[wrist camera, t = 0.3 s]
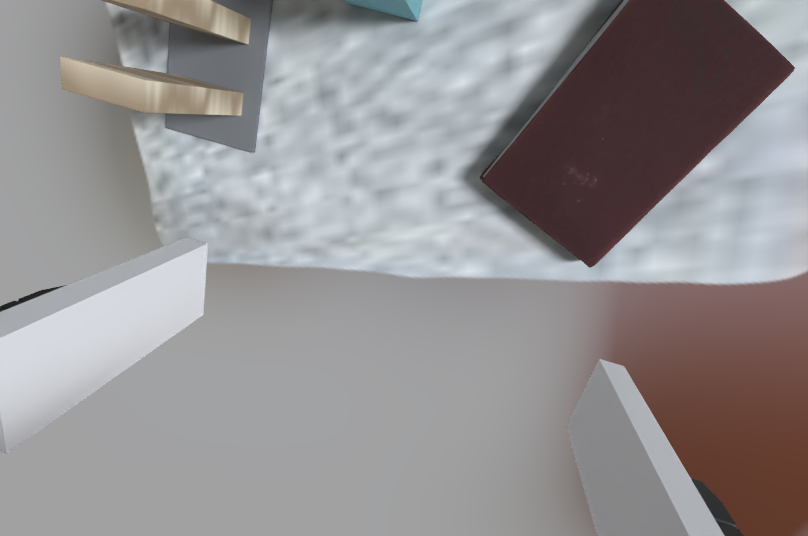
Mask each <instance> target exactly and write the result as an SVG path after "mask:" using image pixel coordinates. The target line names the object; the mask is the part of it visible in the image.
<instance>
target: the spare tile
mask: <svg viewBox="0 0 808 536" xmlns="http://www.w3.org/2000/svg"><path fill="white" fill-rule="evenodd" d="M345 1H346V2H347V3H348V4H352V5H356V6H360V7H364V8H368V9H371V10H375V11H379V12H383V13H387V14H391V15H395V16H399V17H403V18H407V19H410V20H414V21H418V18H419V14H420V9H421V5H422V1H423V0H345Z"/></svg>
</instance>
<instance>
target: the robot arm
mask: <svg viewBox="0 0 808 536" xmlns="http://www.w3.org/2000/svg"><path fill="white" fill-rule="evenodd" d="M207 251H208V243H205V242H201V241H198V240H195V239H191V238H188V237H186V238H184V239H181V240H179V241H176V242H174V243H171V244H169V245H166V246H164V247H161V248H159V249H156V250H154V251H151V252H149V253H146V254H144V255H142V256H139V257H136V258H134V259H131V260H129V261H126V262H124V263H121V264H119V265H117V266H114V267H111V268H109V269H106V270H104V271H101V272H99V273H96V274H94V275H91V276H89V277H86V278H84V279H81V280H79V281H76V282H74V283H71V284H69V285H65V286H60V287H56V288H51V289H46V290H41V291H38V292H36V293H33V294H30V295H28V296H25V297H23V298H20V299H19V301H13V302H10V303H7V304H5V305H2V306H0V451H1V452H4V453H8V452H10V451H11V450H13V449H14V448H15V447H17V446H18V445H20V444H21V443H22V442H24V441H25V440H27V439H28V438H30V437H31V436H32V435H34V434H35V433H36V432H38V431H39V430H41V429H42V428H44V427H45V426H46V425H48V424H49V423H51V422H52V421H54V420H55V419H56V418H58V417H59V416H61V415H62V414H64V413H65V412H66V411H68V410H69V409H70V408H72V407H73V406H75V405H76V404H77V403H79V402H81V401H82V400H83V399H85V398H86V397H88V396H89V395H90V394H92V393H93V392H95V391H96V390H97V389H99V388H100V387H102V386H103V385H105V384H106V383H107V382H109V381H110V380H112V379H113V378H114V377H116V376H117V375H119V374H120V373H121V372H123V371H124V370H126V369H127V368H129V367H130V366H131V365H133V364H134V363H136V362H137V361H139V360H140V359H141V358H143V357H144V356H146V355H147V354H148V353H150V352H151V351H153V350H154V349H155V348H157V347H158V346H160V345H161V344H163V343H164V342H165V341H167V340H168V339H170V338H171V337H173V336H174V335H175V334H177V333H178V332H180V331H181V330H182V329H184V328H185V327H187V326H188V325H189V324H191V323H192V322H194V321H195V320H196V319H198V318H199V317H201V316H202V315H203V311H204V310H203V309H204V296H205V280H206V265H207ZM566 429H567V432H568V436H569V439H570V443H571V446H572V449H573V453H574V456H575V460H576V463H577V467H578V470H579V474H580V478H581V481H582V484H583V488H584V492H585V495H586V499H587V502H588V505H589V509H590V512H591V516H592V519H593V523H594V526H595V530H596V533H597V536H743V535H742V533H741V532H740V530H739V529H736V524H735V522H734V521H733V519H732V517H731V516H730V514H729V513H728V511H727V509H726V508H725V506H724V505H723V503H722V502H721V501H720V500H719V499H718V498H717V497H716V496H715V495H714V494H713V493H712V492H711V491H710V490H709V489H708V488H707V487H706V486H705V484H704V483H702V482H701V481H698V480H695V479H691V478H690V477H689V475H688V473H687V472H686V470H685V468H684V467H683V465H682V463H681V462H680V460H679V458H678V457H677V455H676V453H675V451H674V450H673V448H672V446H671V445H670V443H669V441H668V440H667V438H666V436H665V435H664V433H663V431H662V429H661V428H660V426H659V425H658V423H657V421H656V419H655V418H654V416H653V414H652V413H651V411H650V409H649V408H648V406H647V404H646V403H645V401H644V400H643V397H642V396H641V394H640V392H639V391H638V389H637V387H636V386H635V384H634V382H633V381H632V379H631V377H630V376H629V374H628V372H627V371H626V369H625V367H624V366H621V365H618V364H614V363H611V362H607V361H604V360H601V359H599V361H598V363H597V365H596V367H595V369H594V371H593V373H592V375H591V377H590V379H589V381H588V383H587V385H586V387H585V390H584V391H583V393H582V395H581V397H580V399H579V401H578V404H577V406H576V408H575V410H574V412H573V414H572V416H571V418H570V420H569V422H568V424H567V426H566Z"/></svg>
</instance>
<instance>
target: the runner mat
mask: <svg viewBox="0 0 808 536" xmlns="http://www.w3.org/2000/svg"><path fill="white" fill-rule="evenodd" d="M211 1H213V2H215V3H217V4H220V5H222V6H224V7H226V8H228V9H230V10H233V11H235V12H237V13H239V14H241V15H244V16H246V17H248V18H250V19H251V26H250V36H249V45H248V44H244V43H241V42H237V41H233V40H230V39H226V38H222V37H218V36H215V35H211V34H207V33H203V32H200V31H196V30H192V29H189V28H185V27H182V26H179V25H176V24H173V23H170V30H169V57H168V74H173V75H180V76H185V77H188V78H192V79H195V80H199V81H203V82H206V83H210V84H214V85H217V86H221V87H224V88H228V89H232V90H235V91H239V92H242V93H244V95H243V105H242V115H241V116H236V115H205V114H173V113H166V128H169V129H173V130H176V131H180V132H183V133H187V134H190V135H194V136H197V137H201V138H204V139H208V140H211V141H215V142H218V143H222V144H225V145H228V146H232V147H235V148H239V149H242V150H246V151H249V152H255V147H256V139H257V130H258V121H259V113H260V104H261V95H262V87H263V78H264V70H265V61H266V52H267V44H268V35H269V26H270V18H271V9H272V1H273V0H211Z"/></svg>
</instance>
